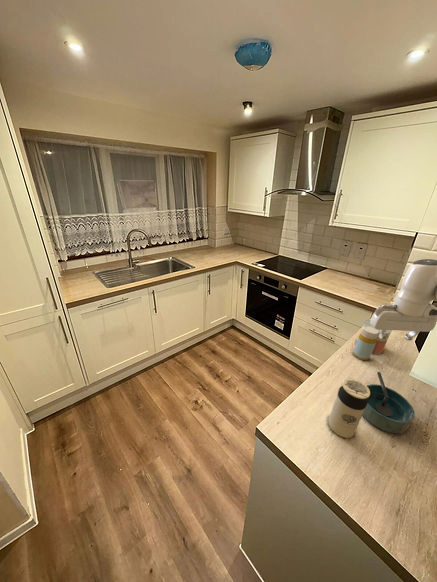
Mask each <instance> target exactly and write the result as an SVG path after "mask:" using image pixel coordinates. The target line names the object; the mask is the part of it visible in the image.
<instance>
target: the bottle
mask: <svg viewBox="0 0 437 582" xmlns="http://www.w3.org/2000/svg"><path fill="white" fill-rule="evenodd" d="M362 328H363V329H362ZM362 328H361V331H362V332H361V331H360V333H359V335H358V337H357V340H356V343H355V346H354V348H353V351H352V353H353V355H354V357H355V358H357V359H358V360H362V361H367V360H368V361H369V360H370V359H371V356H372V355H373V353H372V352H373V349H374V346H375V344H376V341H377V339H376V338H377V336H378V333H379V331H378V330H377V329H375V328H374V327H371V326H364V327H363V326H362Z"/></svg>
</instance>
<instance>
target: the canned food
mask: <svg viewBox="0 0 437 582" xmlns="http://www.w3.org/2000/svg"><path fill="white" fill-rule="evenodd" d="M370 320H371V319H368V320H365V321H364V322H363V324H362V325H363V326H362V328H361V331H360V333H361V332H362V329H363V327H364V326H371V327H373V326H372V325H371V324H370ZM378 331H379V330H378ZM392 332H393V330H386V332H384V334H385V335H387V337H386V339H380V338H379V334H380V332H379V333H378V336H377V338H376V339H377V341H376V344H375V346H374V349H373V352H372V355H373V354H374V355H380V354H382V353H383V352H384V349H385V347H386V345H387V342H388V340H389V337H390V335H391V333H392Z"/></svg>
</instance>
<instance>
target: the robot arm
mask: <svg viewBox="0 0 437 582" xmlns="http://www.w3.org/2000/svg"><path fill="white" fill-rule="evenodd" d="M432 301H433V302H437V259H433V258H432V259H431V258H429V259H428V258H424V259H422V258H421V259H418V260H415V261H413V262H412V263H411V264H410V265H409V267H408V268H407V270H406V272H405V274H404V275H403V278H402V281H401V286H400V289H399V290H398V292H396V295H395V297H394V300H393V303H392V304H381V305H380V306H377V307H376V309H375V311H374V313H373V314H372V316H371V318H370V319H369V320H370V324H371V325H372V326H373V327H374V328H375V329H377V330H379V332H380V334H379V338H380V339H386V337H387V335H385V334H384V332H386V330H392V331H402V332H409V333H405V335H404V339H405V340H406V341H413V339H414V338H415V337H416V336H418V335H419V334H420V332H425V333H429V332H431V331H433V330H434V329H435V327H436V325H437V323H436V322H437V306H435V305H433V304H432V303H431V302H432Z"/></svg>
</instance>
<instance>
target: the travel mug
mask: <svg viewBox="0 0 437 582" xmlns="http://www.w3.org/2000/svg"><path fill="white" fill-rule="evenodd" d="M341 384H342V385H341V386H340V387H339V388H338V391H337V394H336V397H335V399H334V402H333V405H332V408H331V411H330V414H329V417H328V421H327V422H328V423H327V424H328V426H329V428H330V429H331V430H332V431H333V432H334V433H335V434H336V435H337V436H340V437H341V438H347V439H349V438H352V437H353V436H354V435H355V432H356V430H357V428H358V426H359V424H360V422H361V419H362V417H363V412H364V410H365V408H366V406H367V403H368V397H369V396H370V390H369V388H368V387H367V386H366V384H365V383H363V381H361V380H359V379H356V378H351V377H348V378H345V379H343V381H342V383H341Z"/></svg>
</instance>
